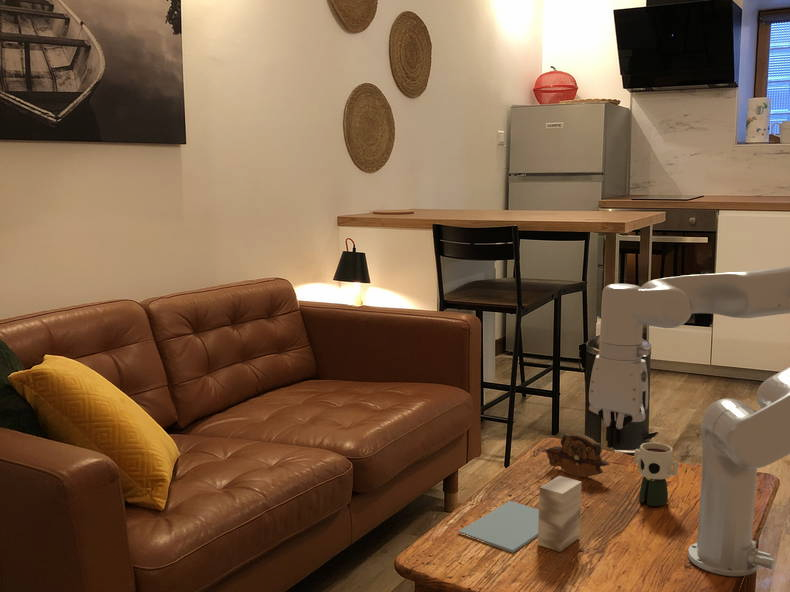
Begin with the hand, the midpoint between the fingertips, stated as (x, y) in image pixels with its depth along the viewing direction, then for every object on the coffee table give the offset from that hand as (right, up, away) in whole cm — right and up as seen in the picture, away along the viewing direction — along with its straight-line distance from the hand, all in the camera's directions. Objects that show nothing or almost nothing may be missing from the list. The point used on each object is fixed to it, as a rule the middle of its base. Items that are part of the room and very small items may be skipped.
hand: (614, 446), depth 154 cm
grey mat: (-17, -20, +17) cm, 31 cm away
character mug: (+17, -18, +30) cm, 39 cm away
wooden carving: (+3, -16, +46) cm, 49 cm away
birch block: (-8, -21, +11) cm, 25 cm away
